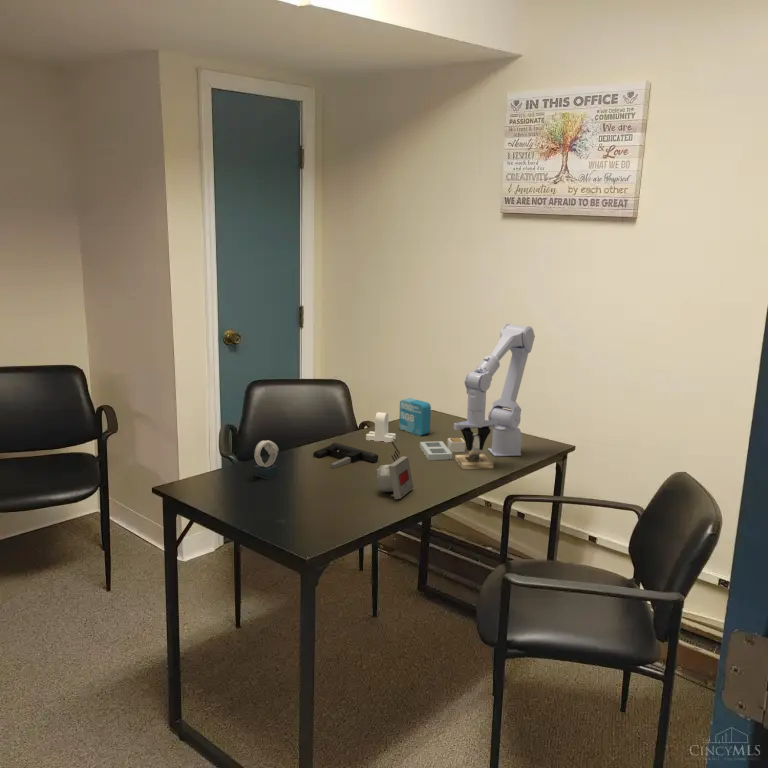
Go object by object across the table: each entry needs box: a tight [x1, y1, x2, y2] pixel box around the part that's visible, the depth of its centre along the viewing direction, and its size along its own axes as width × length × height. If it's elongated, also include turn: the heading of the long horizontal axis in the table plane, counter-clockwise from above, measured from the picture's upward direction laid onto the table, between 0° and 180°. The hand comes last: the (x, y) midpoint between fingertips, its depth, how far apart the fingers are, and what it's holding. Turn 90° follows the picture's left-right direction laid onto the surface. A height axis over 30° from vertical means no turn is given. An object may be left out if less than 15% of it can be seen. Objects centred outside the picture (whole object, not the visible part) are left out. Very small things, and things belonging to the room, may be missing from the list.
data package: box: [398, 397, 432, 437], centre depth 267 cm, size 12×4×12 cm, turn 44°
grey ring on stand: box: [253, 439, 279, 479], centre depth 218 cm, size 6×8×11 cm
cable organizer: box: [365, 411, 397, 443], centre depth 257 cm, size 5×10×10 cm, turn 73°
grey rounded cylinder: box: [468, 432, 481, 460], centre depth 232 cm, size 4×4×8 cm
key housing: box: [446, 437, 466, 453], centre depth 247 cm, size 5×5×4 cm
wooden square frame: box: [454, 453, 494, 470], centre depth 233 cm, size 10×10×2 cm
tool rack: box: [419, 440, 453, 461], centre depth 243 cm, size 8×14×2 cm, turn 9°
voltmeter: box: [374, 441, 414, 500], centre depth 213 cm, size 27×11×10 cm, turn 11°
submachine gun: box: [312, 442, 379, 469], centre depth 235 cm, size 3×20×16 cm
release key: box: [450, 437, 462, 442], centre depth 247 cm, size 3×3×3 cm
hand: (474, 449), depth 232 cm, fingers closed on grey rounded cylinder, 3 cm apart
